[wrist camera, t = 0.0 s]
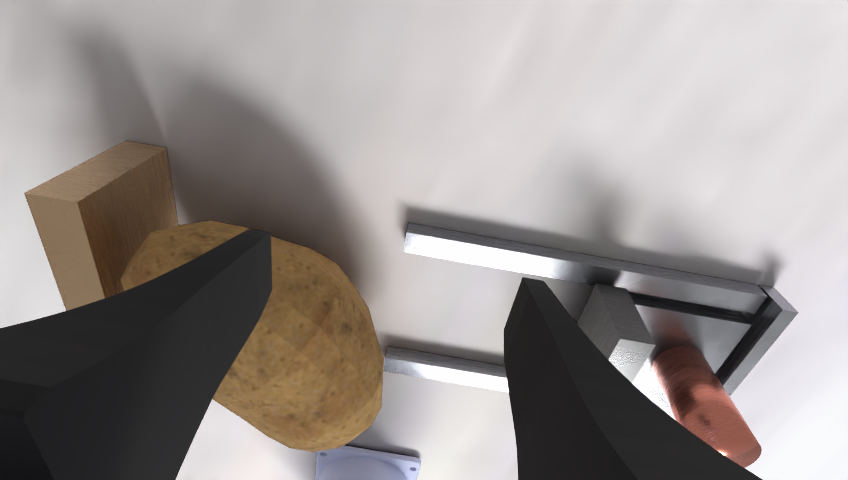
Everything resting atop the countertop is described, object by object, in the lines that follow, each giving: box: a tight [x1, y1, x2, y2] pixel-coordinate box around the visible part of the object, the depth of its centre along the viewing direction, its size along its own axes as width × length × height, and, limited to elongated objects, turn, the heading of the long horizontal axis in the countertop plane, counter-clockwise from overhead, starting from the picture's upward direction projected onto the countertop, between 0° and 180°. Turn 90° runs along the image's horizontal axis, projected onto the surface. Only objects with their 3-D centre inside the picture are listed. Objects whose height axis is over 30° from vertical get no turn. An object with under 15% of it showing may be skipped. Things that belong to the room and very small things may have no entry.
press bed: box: [24, 141, 798, 419], centre depth 23 cm, size 14×34×6 cm, turn 81°
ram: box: [577, 283, 761, 468], centre depth 23 cm, size 9×9×7 cm
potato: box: [121, 220, 384, 452], centre depth 22 cm, size 10×14×8 cm
